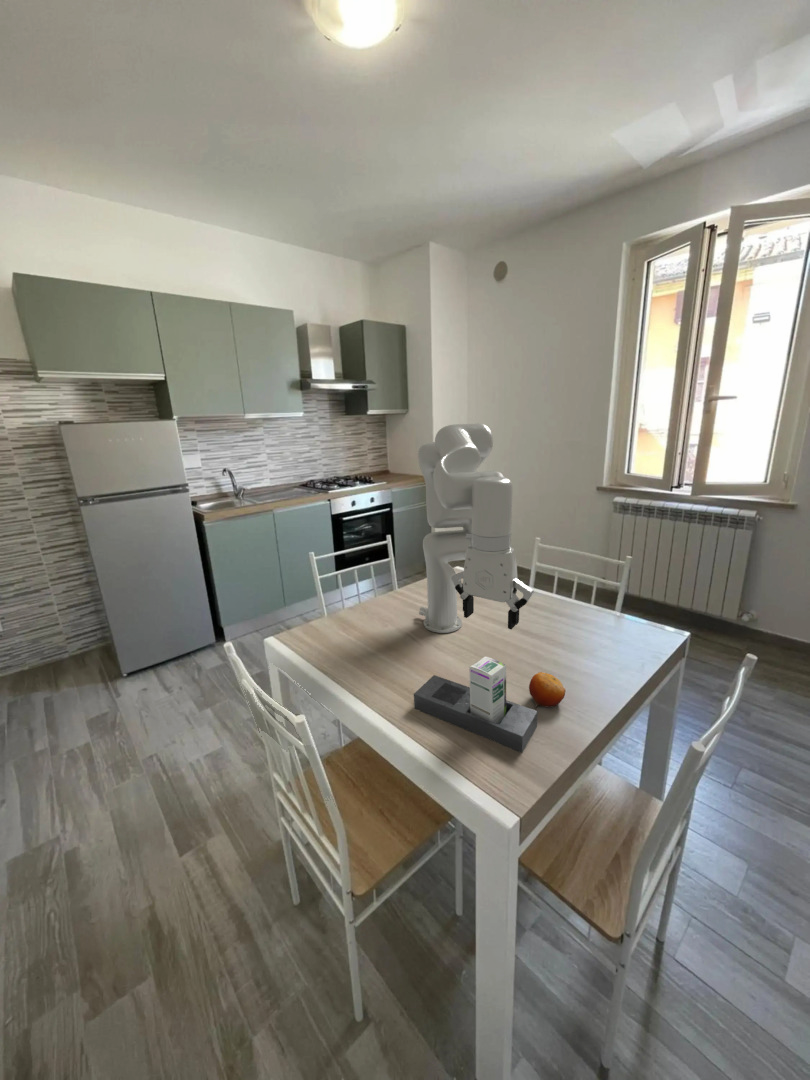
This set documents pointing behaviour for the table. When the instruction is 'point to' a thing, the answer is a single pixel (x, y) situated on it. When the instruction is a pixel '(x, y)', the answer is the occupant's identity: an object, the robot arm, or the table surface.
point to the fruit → (546, 690)
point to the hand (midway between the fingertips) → (489, 620)
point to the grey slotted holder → (454, 708)
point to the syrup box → (488, 689)
